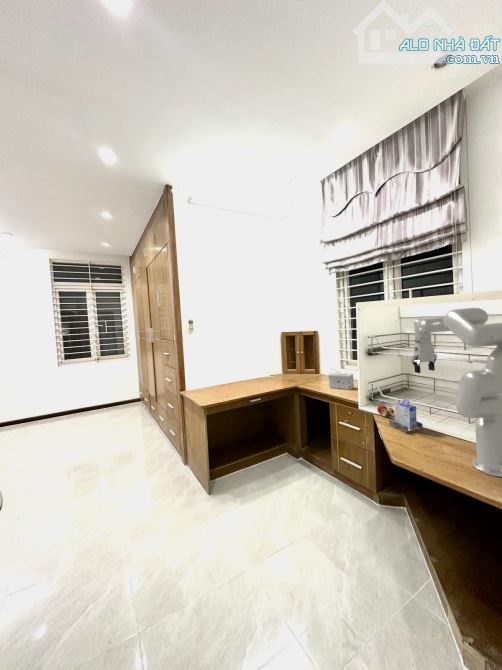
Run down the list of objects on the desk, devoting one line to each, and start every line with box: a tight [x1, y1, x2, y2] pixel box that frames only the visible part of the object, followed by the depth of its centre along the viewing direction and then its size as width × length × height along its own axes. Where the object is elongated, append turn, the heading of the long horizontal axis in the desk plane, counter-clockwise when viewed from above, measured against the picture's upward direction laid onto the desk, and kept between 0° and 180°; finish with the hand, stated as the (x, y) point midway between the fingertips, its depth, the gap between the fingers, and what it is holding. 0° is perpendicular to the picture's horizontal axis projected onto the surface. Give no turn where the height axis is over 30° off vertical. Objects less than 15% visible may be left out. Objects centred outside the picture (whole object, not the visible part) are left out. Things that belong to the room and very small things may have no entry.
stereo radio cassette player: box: [327, 366, 355, 390], centre depth 233 cm, size 21×8×20 cm, turn 53°
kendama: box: [376, 404, 395, 419], centre depth 164 cm, size 8×6×18 cm
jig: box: [388, 419, 424, 435], centre depth 147 cm, size 12×11×4 cm
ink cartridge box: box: [394, 399, 418, 429], centre depth 146 cm, size 10×6×14 cm, turn 19°
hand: (424, 371), depth 143 cm, fingers open, 9 cm apart
